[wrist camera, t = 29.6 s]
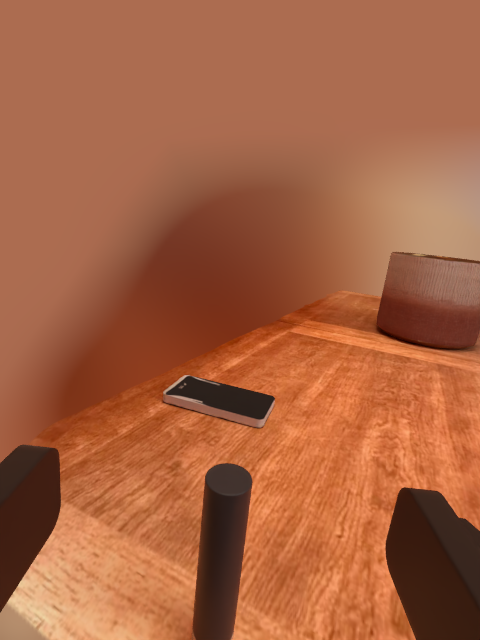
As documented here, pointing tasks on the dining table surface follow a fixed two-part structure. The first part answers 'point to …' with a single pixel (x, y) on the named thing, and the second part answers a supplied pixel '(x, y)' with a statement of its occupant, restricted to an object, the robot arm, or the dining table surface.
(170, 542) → the dining table surface
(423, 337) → the planter
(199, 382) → the smartphone
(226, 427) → the dining table surface
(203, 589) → the dark grey cylinder
